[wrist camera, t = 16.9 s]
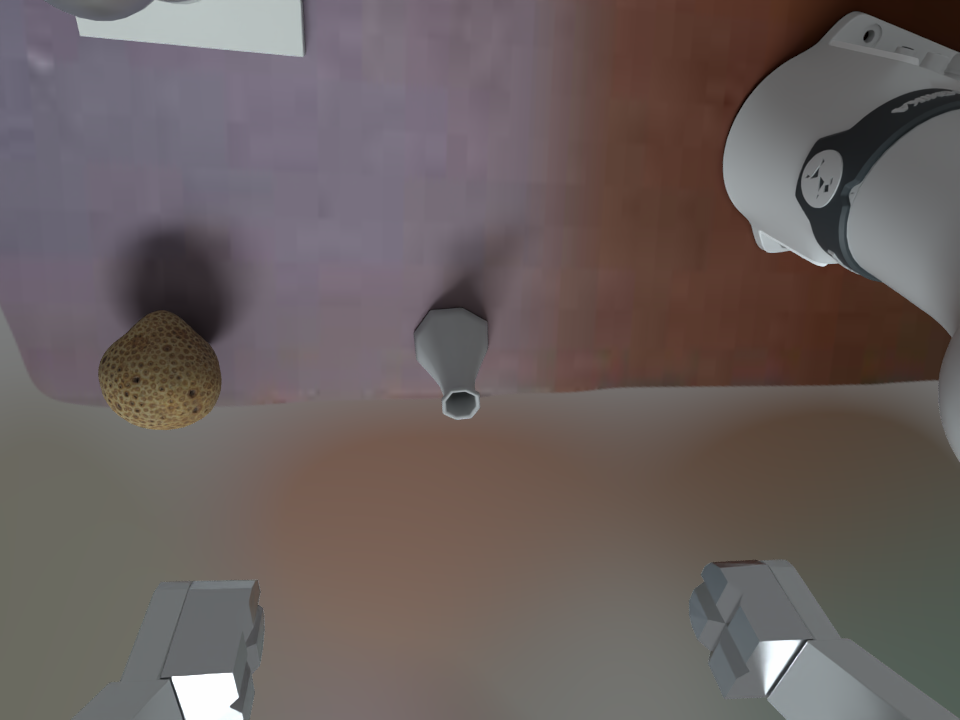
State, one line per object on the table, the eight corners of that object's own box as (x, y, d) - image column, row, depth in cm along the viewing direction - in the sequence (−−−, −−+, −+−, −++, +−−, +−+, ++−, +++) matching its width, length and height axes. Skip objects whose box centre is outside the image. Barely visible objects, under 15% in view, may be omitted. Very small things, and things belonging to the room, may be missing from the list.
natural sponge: (175, 398, 56) (138, 473, 48) (100, 327, 51) (45, 398, 43) (255, 356, 55) (231, 426, 47) (186, 279, 50) (145, 343, 42)
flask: (422, 298, 54) (428, 360, 45) (499, 313, 55) (517, 376, 47) (404, 363, 57) (406, 432, 49) (477, 376, 59) (490, 444, 51)
